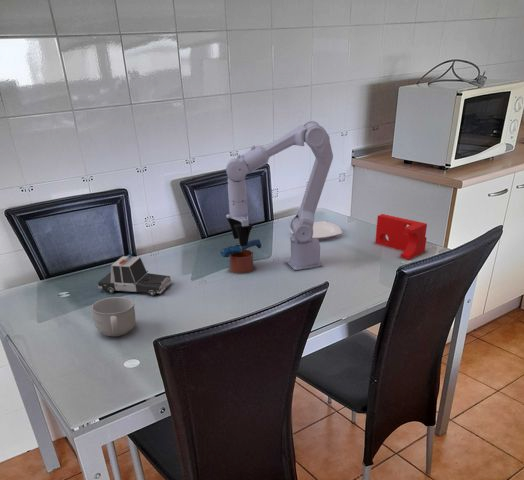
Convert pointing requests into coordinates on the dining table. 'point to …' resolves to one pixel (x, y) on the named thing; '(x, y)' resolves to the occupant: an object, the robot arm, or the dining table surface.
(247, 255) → the cup
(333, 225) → the plate
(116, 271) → the toy car
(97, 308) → the teacup
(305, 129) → the robot arm
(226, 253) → the figurine
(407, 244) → the bracket
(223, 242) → the dining table surface
